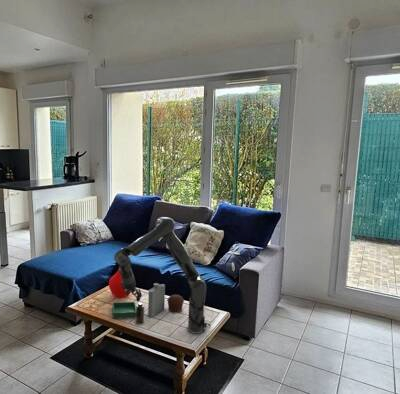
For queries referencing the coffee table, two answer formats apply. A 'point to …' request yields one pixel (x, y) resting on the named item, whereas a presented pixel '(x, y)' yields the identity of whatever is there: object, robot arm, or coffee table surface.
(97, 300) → the coffee table surface
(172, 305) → the muffin
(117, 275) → the vase
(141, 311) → the pepper mill
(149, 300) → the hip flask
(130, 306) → the tray
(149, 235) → the robot arm
